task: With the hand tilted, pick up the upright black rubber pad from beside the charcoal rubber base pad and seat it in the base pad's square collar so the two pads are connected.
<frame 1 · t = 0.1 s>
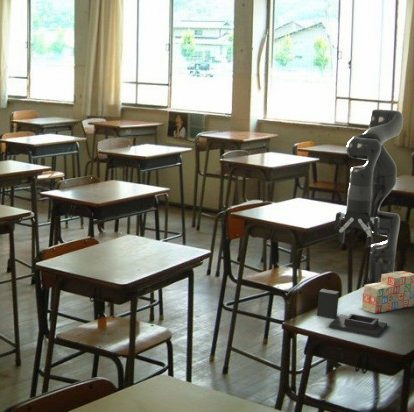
hand: (355, 245, 292), 29 cm above the table, tool pointing down, fingers open, 8 cm apart
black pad: (326, 315, 311), on the table
base pad: (358, 327, 299), on the table
stack of blocks: (387, 308, 322), on the table
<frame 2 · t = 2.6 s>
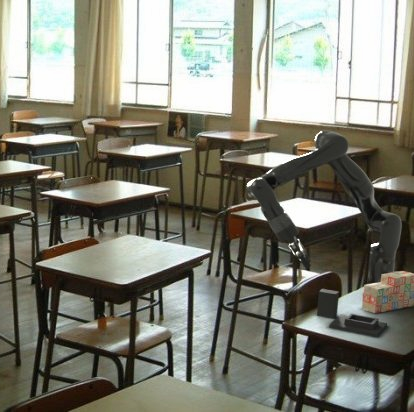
hand: (308, 265, 309), 18 cm above the table, tool tilted 35°, fingers open, 8 cm apart
nothing on the table moved.
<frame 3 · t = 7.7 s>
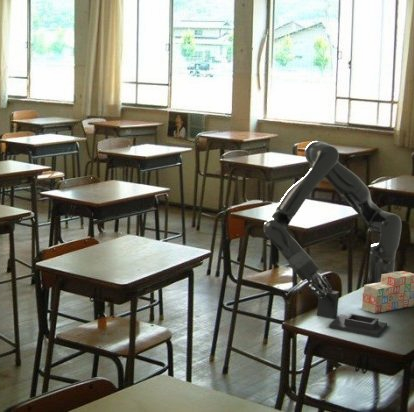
hand: (333, 303, 309), 5 cm above the table, tool tilted 45°, fingers closed on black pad, 4 cm apart
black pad: (326, 315, 311), on the table, touching gripper
everything else where it was.
when the fingers open (6 cm above the table, at t = 15.2 s): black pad stays where it is, resting on base pad.
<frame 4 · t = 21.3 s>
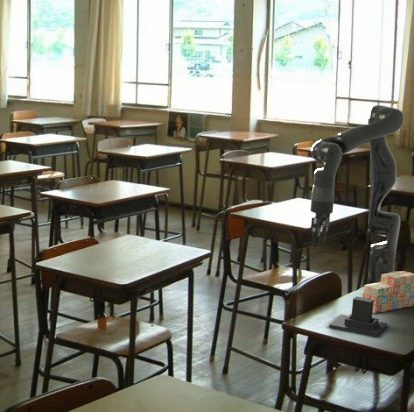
hand: (318, 244, 306), 26 cm above the table, tool pointing down, fingers open, 8 cm apart
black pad: (361, 324, 298), point 1 cm above the table, touching base pad
everything else where it was.
at the end: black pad 0.1 cm from the target spot on the base pad, point 1.2 cm above the base pad's base; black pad tilted 0°; the gripper is holding nothing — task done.
